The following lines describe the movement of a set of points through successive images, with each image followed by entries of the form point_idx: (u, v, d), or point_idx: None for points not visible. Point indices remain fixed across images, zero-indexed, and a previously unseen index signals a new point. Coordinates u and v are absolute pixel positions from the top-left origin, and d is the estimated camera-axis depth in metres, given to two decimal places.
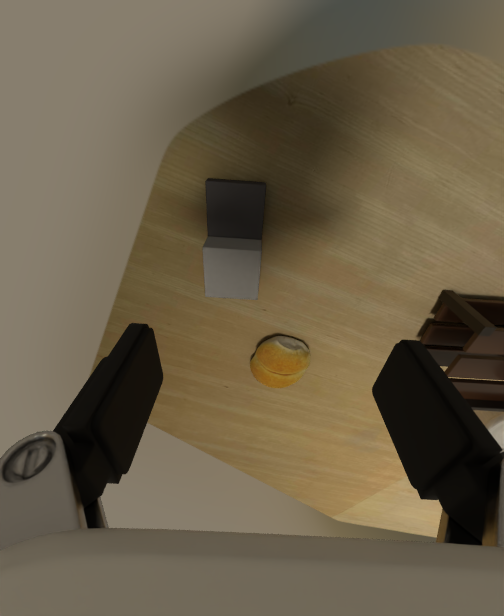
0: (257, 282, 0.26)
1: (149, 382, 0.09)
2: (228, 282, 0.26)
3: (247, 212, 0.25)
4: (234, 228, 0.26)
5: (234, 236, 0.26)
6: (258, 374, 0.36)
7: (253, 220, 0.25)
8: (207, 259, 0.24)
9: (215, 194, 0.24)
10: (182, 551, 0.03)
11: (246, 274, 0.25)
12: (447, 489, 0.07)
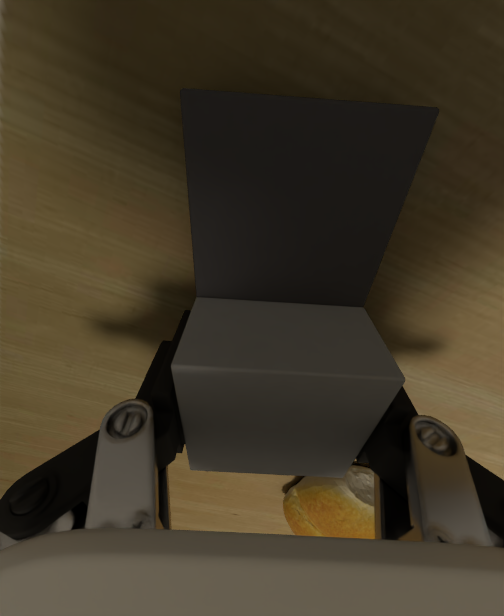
0: (357, 449, 0.08)
1: None
2: (261, 449, 0.08)
3: (337, 224, 0.07)
4: (284, 275, 0.08)
5: (280, 298, 0.08)
6: None
7: (352, 250, 0.07)
8: (190, 399, 0.07)
9: (220, 152, 0.06)
10: (181, 551, 0.03)
11: (327, 433, 0.07)
12: (372, 448, 0.08)
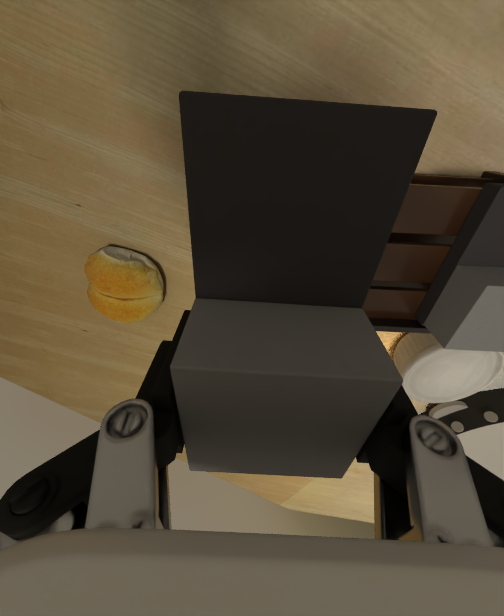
0: (355, 450, 0.08)
1: None
2: (260, 449, 0.08)
3: (335, 226, 0.07)
4: (283, 276, 0.08)
5: (279, 299, 0.08)
6: (91, 300, 0.28)
7: (351, 252, 0.07)
8: (189, 400, 0.07)
9: (219, 155, 0.06)
10: (181, 551, 0.03)
11: (325, 434, 0.07)
12: (372, 449, 0.08)
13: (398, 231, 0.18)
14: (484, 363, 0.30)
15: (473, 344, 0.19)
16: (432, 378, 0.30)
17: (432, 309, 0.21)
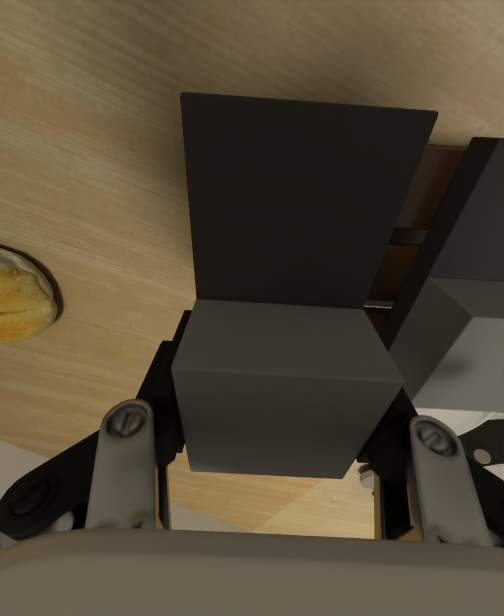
0: (356, 451, 0.08)
1: None
2: (261, 450, 0.08)
3: (336, 227, 0.07)
4: (283, 277, 0.08)
5: (280, 300, 0.08)
6: None
7: (352, 253, 0.07)
8: (190, 401, 0.07)
9: (220, 156, 0.06)
10: (181, 552, 0.03)
11: (326, 435, 0.07)
12: (372, 448, 0.08)
13: None
14: None
15: (452, 402, 0.12)
16: None
17: (394, 341, 0.14)
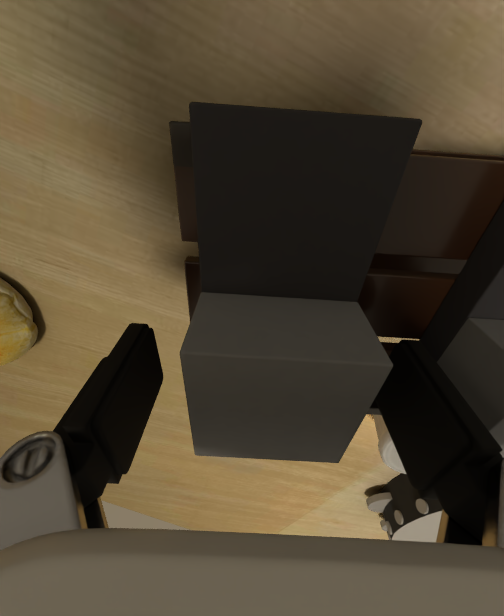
0: (350, 434, 0.09)
1: (149, 382, 0.09)
2: (262, 433, 0.09)
3: (331, 224, 0.07)
4: (283, 272, 0.08)
5: (280, 293, 0.09)
6: None
7: (346, 248, 0.08)
8: (196, 384, 0.07)
9: (225, 159, 0.07)
10: (181, 551, 0.03)
11: (322, 418, 0.08)
12: (447, 489, 0.07)
13: None
14: None
15: None
16: None
17: None
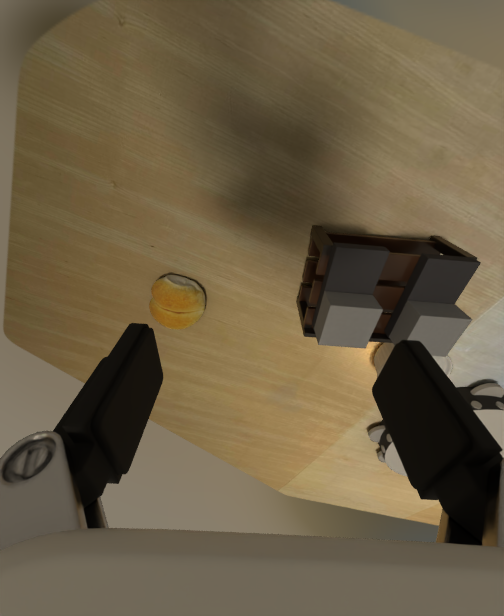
0: (370, 334, 0.28)
1: (149, 382, 0.09)
2: (343, 334, 0.28)
3: (366, 272, 0.27)
4: (351, 285, 0.28)
5: (349, 291, 0.29)
6: (154, 312, 0.38)
7: (370, 279, 0.28)
8: (331, 315, 0.27)
9: (341, 257, 0.26)
10: (181, 552, 0.03)
11: (363, 327, 0.28)
12: (447, 489, 0.07)
13: None
14: None
15: None
16: None
17: (393, 327, 0.31)
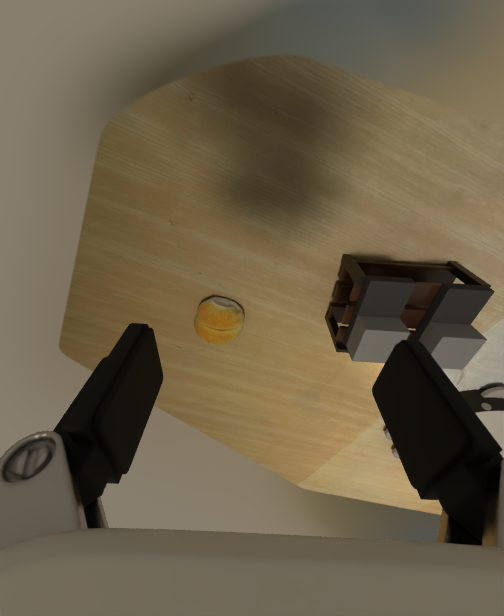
0: None
1: (149, 382, 0.09)
2: (374, 352, 0.33)
3: (395, 300, 0.32)
4: (381, 310, 0.33)
5: (379, 315, 0.33)
6: (199, 330, 0.43)
7: (398, 305, 0.32)
8: (365, 337, 0.32)
9: (374, 288, 0.31)
10: (181, 550, 0.03)
11: (392, 347, 0.32)
12: (447, 489, 0.07)
13: None
14: (452, 373, 0.45)
15: None
16: None
17: None
